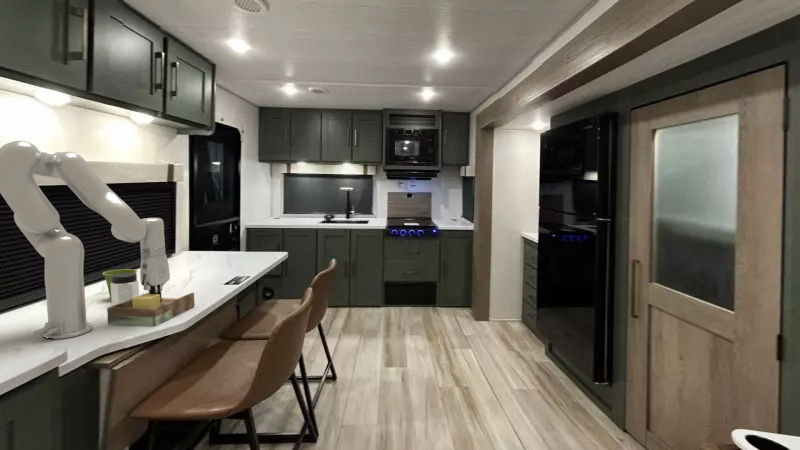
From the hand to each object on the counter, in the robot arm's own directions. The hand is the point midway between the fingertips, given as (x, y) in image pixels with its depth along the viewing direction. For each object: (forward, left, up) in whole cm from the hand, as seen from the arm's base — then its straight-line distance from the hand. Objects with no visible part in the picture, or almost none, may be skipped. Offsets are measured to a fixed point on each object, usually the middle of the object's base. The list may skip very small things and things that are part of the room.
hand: (156, 302), depth 155 cm
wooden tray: (-1, 0, -4) cm, 4 cm away
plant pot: (+17, +27, -4) cm, 32 cm away
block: (-6, 0, -1) cm, 6 cm away
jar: (+9, +19, -4) cm, 21 cm away
